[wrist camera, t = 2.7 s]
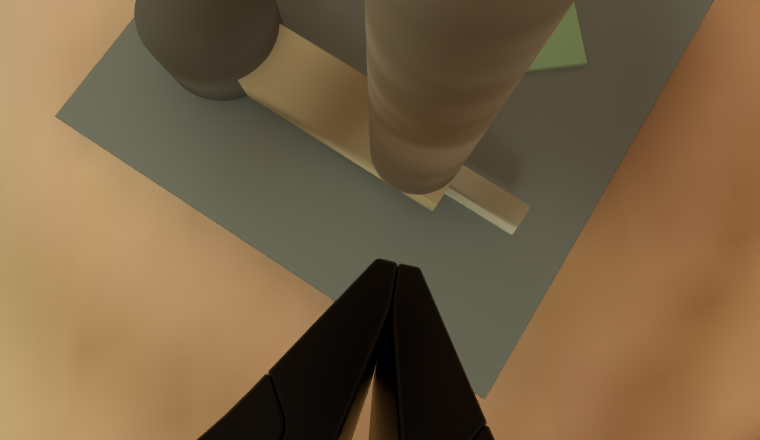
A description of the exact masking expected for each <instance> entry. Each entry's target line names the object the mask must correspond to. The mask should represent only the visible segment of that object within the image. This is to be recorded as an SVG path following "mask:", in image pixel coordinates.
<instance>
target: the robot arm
mask: <svg viewBox="0 0 760 440" xmlns="http://www.w3.org/2000/svg"><path fill="white" fill-rule="evenodd" d="M375 366H376V367H375ZM374 370H375V373H374ZM373 374H374V381H373V390H372V404H371V417H370V430H369V440H494V437H493V435H492V433H491V430H490V428H489V427H488V426H485V425H486V423H487V422H486V419H485V417H484V415H483V412H482V410H481V408H480V405H479V403H478V401H477V398H476V396H475V394H474V392H473V389H472V387H471V385H470V382H469V380H468V378H467V375H466V373H465V371H464V368H463V366H462V364H461V361H460V359H459V357H458V354H457V352H456V350H455V347H454V345H453V343H452V340H451V338H450V336H449V333H448V331H447V329H446V327H445V324H444V322H443V320H442V317H441V315H440V313H439V310H438V308H437V306H436V303H435V301H434V299H433V296H432V294H431V292H430V289H429V287H428V285H427V282H426V280H425V278H424V275H423V273H422V271H421V269H420V268H419V267H416V266H411V265H407V264H403V263H401V264H399V265H398V267H397V263H396V262H394V261H389V260H385V259H381V258H377V259H375V260H374V261H373V262H372V263H371V264H370V265H369V266H368V267H367V269H366V270H365V271H364V272H363V273H362V274H361V275H360V276H359V277H358V278H357V279H356V280H355V281H354V282H353V283H352V284H351V285H350V286H349V287H348V288H347V289H346V291H345V292H344V293H343V294H342V295H341V296H340V297H339V298H338V299H337V300H336V301H335V302H334V303H333V304H332V305H331V306H330V307H329V308H328V309H327V310H326V311H325V313H324V314H323V315H322V316H321V317H320V318H319V319H318V320H317V321H316V322H315V323H314V324H313V325H312V326H311V327H310V328H309V329H308V330H307V331H306V332H305V333H304V335H303V336H302V337H301V338H300V339H299V340H298V341H297V342H296V343H295V344H294V345H293V346H292V347H291V348H290V349H289V350H288V351H287V352H286V353H285V354H284V355H283V357H282V358H281V359H280V360H279V361H278V362H277V363H276V364H275V365H274V366H273V367H272V368H271V369H270V370H269V372H268V374H266V375H264V376H263V377H262V378H261V379H260V380H259V381H258V382H257V383H256V385H255V386H254V387H253V388H252V389H251V390H250V391H249V392H248V393H247V394H246V395H245V396H244V397H243V398H242V399H241V400H240V401H239V402H238V403H237V404H236V405H235V406H234V407H233V408H232V409H230V410H229V411H228V412H227V413H226V414H225V415H224V416H223V417H222V418H221V419H220V420H219V421H218V422H216V423H215V424H214V425H213V426H212V427H211V428H210V429H208V430H207V431H206V432H205V433H204V434H203V435H202V436H200V437H199V438H198V439H197V440H352V437H353V434H354V431H355V428H356V425H357V423H358V420H359V417H360V414H361V411H362V408H363V405H364V402H365V399H366V396H367V393H368V390H369V387H370V384H371V381H372V377H373Z"/></svg>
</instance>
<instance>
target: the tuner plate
mask: <svg viewBox="0 0 760 440" xmlns="http://www.w3.org/2000/svg"><path fill="white" fill-rule="evenodd" d="M275 1H276V3H277V6H278V9H279V12H280V15H281V18H282V21H283V24H284V26H285V27H286V28H288V29H290V30H291V31H293V32H294V33H296V34H298V35H299V36H301V37H303V38H304V39H306V40H308V41H309V42H311V43H313V44H314V45H316V46H317V47H319V48H321V49H322V50H324V51H326V52H327V53H329V54H331V55H332V56H334V57H336V58H337V59H339V60H340V61H342V62H344V63H345V64H347V65H349V66H350V67H352V68H354V69H355V70H357V71H359V72H360V73H362V74H363V75H365V76H367V52H366V24H365V0H275ZM713 1H714V0H575V1H574V3H573V4H572V6H571V7H570V8H569V10H568V11H567V13H566V14H565V16H564V17H563V19H562V20H561V22H560V23H559V25H558V26H557V28H556V29H555V30H554V32H553V33H552V35H551V36H550V38H549V39H548V41H547V42H546V44H545V45H544V47H543V48H542V50H541V51H540V52H539V54H538V55H537V57H536V58H535V60H534V61H533V63H532V64H531V66H530V67H529V69H528V70H527V72H526V73H525V74H524V76H523V77H522V79H521V80H520V82H519V83H518V85H517V86H516V88H515V89H514V91H513V92H512V94H511V95H510V96H509V98H508V99H507V101H506V102H505V104H504V105H503V107H502V108H501V110H500V111H499V113H498V114H497V116H496V117H495V118H494V120H493V121H492V123H491V124H490V126H489V127H488V129H487V130H486V132H485V133H484V135H483V136H482V138H481V139H480V140H479V142H478V143H477V145H476V146H475V148H474V149H473V151H472V152H471V154H470V155H469V157H468V158H467V160H466V161H465V162H464V164H463V165H464V166H466V167H467V168H469V169H471V170H472V171H474V172H475V173H477V174H479V175H480V176H482V177H484V178H485V179H487V180H488V181H490V182H492V183H493V184H495V185H497V186H498V187H500V188H501V189H503V190H505V191H506V192H508V193H510V194H511V195H513V196H514V197H516V198H518V199H519V200H521V201H523V202H524V203H526V204H527V205H529V206H531V207H530V208H529V210H528V212H527V213H526V215H525V217H524V218H523V220H522V222H521V223H520V225H518V226H516V227H514V228H513V227H512V226H510V225H509V224H507V223H505V222H504V221H502V220H501V219H499V218H497V217H496V216H494V215H493V214H491V213H489V212H488V211H486V210H484V209H483V208H481V207H480V206H478V205H476V204H475V203H473V202H472V201H470V200H468V199H467V198H465V197H464V196H462V195H460V194H459V193H457V192H455V191H454V190H452V189H451V188H449V187H448V188H447V190H446V192H445V193H444V195H443V196H442V198H441V200H440V201H439V203H438V204H437V206H436V207H435V209H434V210H433V211H431V210H429V209H427V208H426V207H424V206H423V205H421V204H420V203H418V202H416V201H415V200H413V199H412V198H410V197H408V196H407V195H405V194H404V193H402V192H400V191H398V190H396V189H394V188H392V187H391V186H389V185H388V184H386V183H385V182H384V181H383V180H381V179H380V178H378V177H376V176H375V175H373V174H372V173H370V172H369V171H367V170H365V169H364V168H362V167H361V166H359V165H357V164H356V163H354V162H353V161H351V160H349V159H348V158H346V157H345V156H343V155H341V154H340V153H338V152H337V151H335V150H333V149H332V148H330V147H329V146H327V145H325V144H324V143H322V142H321V141H319V140H318V139H316V138H314V137H313V136H311V135H310V134H308V133H306V132H305V131H303V130H302V129H300V128H298V127H297V126H295V125H294V124H292V123H290V122H289V121H287V120H286V119H284V118H282V117H281V116H279V115H278V114H276V113H274V112H273V111H271V110H270V109H268V108H267V107H265V106H263V105H262V104H260V103H259V102H257V101H255V100H254V99H252V98H251V97H249V96H245V97H243V98H239V99H235V100H228V101H217V100H209V99H205V98H202V97H199V96H196V95H194V94H192V93H191V92H189V91H187V90H186V89H185V88H183V87H182V86H181V85H180V84H179V83H178V82H177V81H176V80H175V79H174V78H173V77H172V76H171V75H170V74H169V73H168V72H167V70H166V69H165V68H164V67H163V66H162V65H161V64H160V63H159V62H158V61H157V60H156V59H155V58H154V57H153V55H152V54H151V53H150V52H149V51H148V50H147V48H146V47H145V46H144V44H143V43H142V41H141V39H140V37H139V34H138V32H137V29H136V24H135V17H134V18H133V19H132V21H131V22H130V23H129V24H128V26H127V27H126V28H125V29H124V31H123V32H122V33H121V34H120V36H119V37H118V38H117V39H116V41H115V42H114V43H113V44H112V46H111V47H110V48H109V49H108V51H107V52H106V53H105V54H104V56H103V57H102V58H101V59H100V61H99V62H98V63H97V64H96V66H95V67H94V68H93V69H92V71H91V72H90V73H89V74H88V76H87V77H86V78H85V79H84V81H83V82H82V83H81V84H80V86H79V87H78V88H77V89H76V91H75V92H74V93H73V94H72V96H71V97H70V98H69V99H68V101H67V102H66V103H65V104H64V106H63V107H62V108H61V109H60V111H59V112H58V113H57V114H56V116H55V117H56V118H58V119H59V120H61V121H63V122H64V123H66V124H67V125H69V126H70V127H72V128H73V129H75V130H76V131H78V132H79V133H81V134H82V135H84V136H85V137H87V138H88V139H90V140H91V141H93V142H94V143H96V144H97V145H99V146H101V147H102V148H104V149H105V150H107V151H108V152H110V153H111V154H113V155H114V156H116V157H117V158H119V159H120V160H122V161H123V162H125V163H126V164H128V165H129V166H131V167H132V168H134V169H135V170H137V171H139V172H140V173H142V174H143V175H145V176H146V177H148V178H149V179H151V180H152V181H154V182H155V183H157V184H158V185H160V186H161V187H163V188H164V189H166V190H167V191H169V192H170V193H172V194H173V195H175V196H177V197H178V198H180V199H181V200H183V201H184V202H186V203H187V204H189V205H190V206H192V207H193V208H195V209H196V210H198V211H199V212H201V213H202V214H204V215H205V216H207V217H208V218H210V219H211V220H213V221H215V222H216V223H218V224H219V225H221V226H222V227H224V228H225V229H227V230H228V231H230V232H231V233H233V234H234V235H236V236H237V237H239V238H240V239H242V240H243V241H245V242H246V243H248V244H249V245H251V246H253V247H254V248H256V249H257V250H259V251H260V252H262V253H263V254H265V255H266V256H268V257H269V258H271V259H272V260H274V261H275V262H277V263H278V264H280V265H281V266H283V267H284V268H286V269H287V270H289V271H291V272H292V273H294V274H295V275H297V276H298V277H300V278H301V279H303V280H304V281H306V282H307V283H309V284H310V285H312V286H313V287H315V288H316V289H318V290H319V291H321V292H322V293H324V294H325V295H327V296H329V297H330V298H332V299H333V300H335V301H336V300H337V299H338V298H339V297H340V296H341V295H342V294H343V293H344V292H345V291H346V289H347V288H348V287H349V286H350V285H351V284H352V283H353V282H354V281H355V280H356V279H357V278H358V277H359V276H360V275H361V274H362V273H363V272H364V271H365V270H366V269H367V267H368V266H369V265H370V264H371V263H372V262H373V261H374V260H375V259H377V258H381V259H385V260H389V261H394V262H396V263H397V267H398V265H399V264H401V263H403V264H407V265H411V266H416V267H419V268H420V269H421V271H422V273H423V275H424V278H425V280H426V282H427V285H428V287H429V289H430V292H431V294H432V296H433V299H434V301H435V303H436V306H437V308H438V310H439V313H440V315H441V317H442V320H443V322H444V324H445V327H446V329H447V331H448V333H449V336H450V338H451V340H452V343H453V345H454V347H455V350H456V352H457V354H458V357H459V359H460V361H461V364H462V366H463V368H464V371H465V373H466V375H467V378H468V380H469V382H470V385H471V387H472V389H473V392H474V393H476V394H477V395H479V396H481V397H482V398H484V399H485V398H486V396H487V394H488V393H489V391H490V389H491V387H492V386H493V384H494V382H495V380H496V379H497V377H498V375H499V374H500V372H501V370H502V368H503V367H504V365H505V363H506V361H507V360H508V358H509V356H510V354H511V353H512V351H513V349H514V347H515V346H516V344H517V342H518V340H519V339H520V337H521V335H522V333H523V332H524V330H525V328H526V327H527V325H528V323H529V321H530V320H531V318H532V316H533V314H534V313H535V311H536V309H537V307H538V306H539V304H540V302H541V300H542V299H543V297H544V295H545V293H546V292H547V290H548V288H549V287H550V285H551V283H552V281H553V280H554V278H555V276H556V274H557V273H558V271H559V269H560V267H561V266H562V264H563V262H564V260H565V259H566V257H567V255H568V253H569V252H570V250H571V248H572V247H573V245H574V243H575V241H576V240H577V238H578V236H579V234H580V233H581V231H582V229H583V227H584V226H585V224H586V222H587V220H588V219H589V217H590V215H591V213H592V212H593V210H594V208H595V206H596V205H597V203H598V201H599V200H600V198H601V196H602V194H603V193H604V191H605V189H606V187H607V186H608V184H609V182H610V180H611V179H612V177H613V175H614V173H615V172H616V170H617V168H618V166H619V165H620V163H621V161H622V160H623V158H624V156H625V154H626V153H627V151H628V149H629V147H630V146H631V144H632V142H633V140H634V139H635V137H636V135H637V133H638V132H639V130H640V128H641V126H642V125H643V123H644V121H645V120H646V118H647V116H648V114H649V113H650V111H651V109H652V107H653V106H654V104H655V102H656V100H657V99H658V97H659V95H660V93H661V92H662V90H663V88H664V86H665V85H666V83H667V81H668V79H669V78H670V76H671V74H672V73H673V71H674V69H675V67H676V66H677V64H678V62H679V60H680V59H681V57H682V55H683V53H684V52H685V50H686V48H687V46H688V45H689V43H690V41H691V39H692V38H693V36H694V34H695V33H696V31H697V29H698V27H699V26H700V24H701V22H702V20H703V19H704V17H705V15H706V13H707V12H708V10H709V8H710V6H711V5H712V3H713Z"/></svg>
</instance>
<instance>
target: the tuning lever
mask: <svg viewBox="0 0 760 440" xmlns="http://www.w3.org/2000/svg"><path fill="white" fill-rule="evenodd" d="M574 1H575V0H365V24H366V52H367V76H365V75H363V74H362V73H360V72H359V71H357V70H355V69H354V68H352V67H350V66H349V65H347V64H345V63H344V62H342V61H340V60H339V59H337V58H336V57H334V56H332V55H331V54H329V53H327V52H326V51H324V50H322V49H321V48H319V47H317V46H316V45H314V44H313V43H311V42H309V41H308V40H306V39H304V38H303V37H301V36H299V35H298V34H296V33H294V32H293V31H291V30H290V29H288V28H286V27H285V26H284V24H283V21H282V18H281V15H280V12H279V9H278V6H277V3H276V1H275V0H136V3H135V12H134V15H135V24H136V29H137V32H138V34H139V37H140V39H141V41H142V43H143V44H144V46H145V47H146V48H147V50H148V51H149V52H150V53H151V54H152V55H153V57H154V58H155V59H156V60H157V61H158V62H159V63H160V64H161V65H162V66H163V67H164V68H165V69H166V70H167V72H168V73H169V74H170V75H171V76H172V77H173V78H174V79H175V80H176V81H177V82H178V83H179V84H180V85H181V86H182V87H183V88H185V89H186V90H187V91H189V92H191V93H192V94H194V95H196V96H199V97H202V98H205V99H209V100H217V101H228V100H235V99H239V98H243V97H245V96H249V97H251V98H252V99H254V100H255V101H257V102H259V103H260V104H262V105H263V106H265V107H267V108H268V109H270V110H271V111H273V112H274V113H276V114H278V115H279V116H281V117H282V118H284V119H286V120H287V121H289V122H290V123H292V124H294V125H295V126H297V127H298V128H300V129H302V130H303V131H305V132H306V133H308V134H310V135H311V136H313V137H314V138H316V139H318V140H319V141H321V142H322V143H324V144H325V145H327V146H329V147H330V148H332V149H333V150H335V151H337V152H338V153H340V154H341V155H343V156H345V157H346V158H348V159H349V160H351V161H353V162H354V163H356V164H357V165H359V166H361V167H362V168H364V169H365V170H367V171H369V172H370V173H372V174H373V175H375V176H376V177H378V178H380V179H381V180H383V181H384V182H385V183H386V184H388V185H389V186H391V187H392V188H394V189H396V190H398V191H400V192H402V193H404V194H405V195H407V196H408V197H410V198H412V199H413V200H415V201H416V202H418V203H420V204H421V205H423V206H424V207H426V208H427V209H429V210H431V211H433V210H434V209H435V207H436V206H437V204H438V203H439V201H440V200H441V198H442V196H443V195H444V193H445V192H446V190H447V188H448V187H449V188H451V189H452V190H454V191H455V192H457V193H459V194H460V195H462V196H464V197H465V198H467V199H468V200H470V201H472V202H473V203H475V204H476V205H478V206H480V207H481V208H483V209H484V210H486V211H488V212H489V213H491V214H493V215H494V216H496V217H497V218H499V219H501V220H502V221H504V222H505V223H507V224H509V225H510V226H512V227H513V228H514V227H516V226H518V225H520V223H521V222H522V220H523V218H524V217H525V215H526V213H527V212H528V210H529V208H530V207H531V206H529V205H527V204H526V203H524V202H523V201H521V200H519V199H518V198H516V197H514V196H513V195H511V194H510V193H508V192H506V191H505V190H503V189H501V188H500V187H498V186H497V185H495V184H493V183H492V182H490V181H488V180H487V179H485V178H484V177H482V176H480V175H479V174H477V173H475V172H474V171H472V170H471V169H469V168H467V167H466V166H464V165H463V164H464V162H465V161H466V160H467V158H468V157H469V155H470V154H471V152H472V151H473V149H474V148H475V146H476V145H477V143H478V142H479V140H480V139H481V138H482V136H483V135H484V133H485V132H486V130H487V129H488V127H489V126H490V124H491V123H492V121H493V120H494V118H495V117H496V116H497V114H498V113H499V111H500V110H501V108H502V107H503V105H504V104H505V102H506V101H507V99H508V98H509V96H510V95H511V94H512V92H513V91H514V89H515V88H516V86H517V85H518V83H519V82H520V80H521V79H522V77H523V76H524V74H525V73H526V72H527V70H528V69H529V67H530V66H531V64H532V63H533V61H534V60H535V58H536V57H537V55H538V54H539V52H540V51H541V50H542V48H543V47H544V45H545V44H546V42H547V41H548V39H549V38H550V36H551V35H552V33H553V32H554V30H555V29H556V28H557V26H558V25H559V23H560V22H561V20H562V19H563V17H564V16H565V14H566V13H567V11H568V10H569V8H570V7H571V6H572V4H573V3H574Z"/></svg>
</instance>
